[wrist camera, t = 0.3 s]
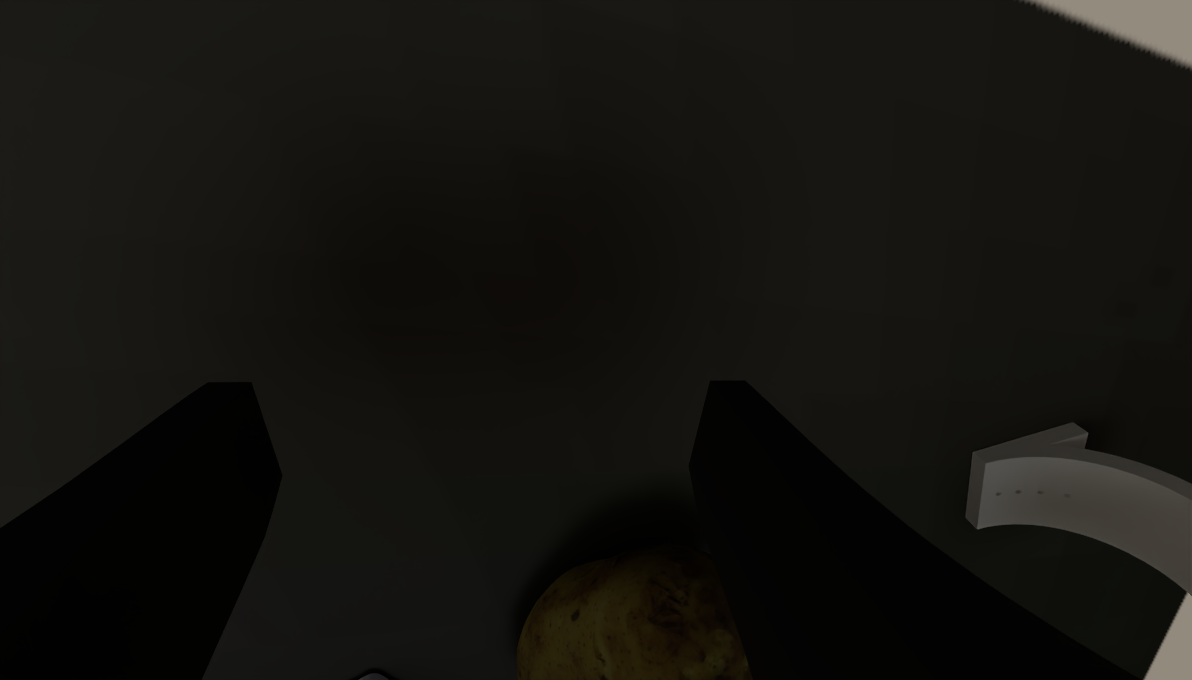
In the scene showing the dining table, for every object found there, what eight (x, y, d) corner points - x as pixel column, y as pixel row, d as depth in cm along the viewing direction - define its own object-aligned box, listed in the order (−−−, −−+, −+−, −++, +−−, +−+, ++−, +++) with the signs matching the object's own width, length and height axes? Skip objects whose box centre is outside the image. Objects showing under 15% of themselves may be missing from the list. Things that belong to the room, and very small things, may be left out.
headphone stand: (972, 451, 27) (1269, 717, 17) (1093, 415, 27) (1466, 658, 17) (964, 517, 29) (1221, 788, 19) (1076, 484, 29) (1394, 735, 19)
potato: (445, 603, 27) (427, 806, 20) (673, 457, 24) (742, 628, 17) (554, 674, 31) (570, 864, 24) (759, 553, 28) (844, 724, 21)
